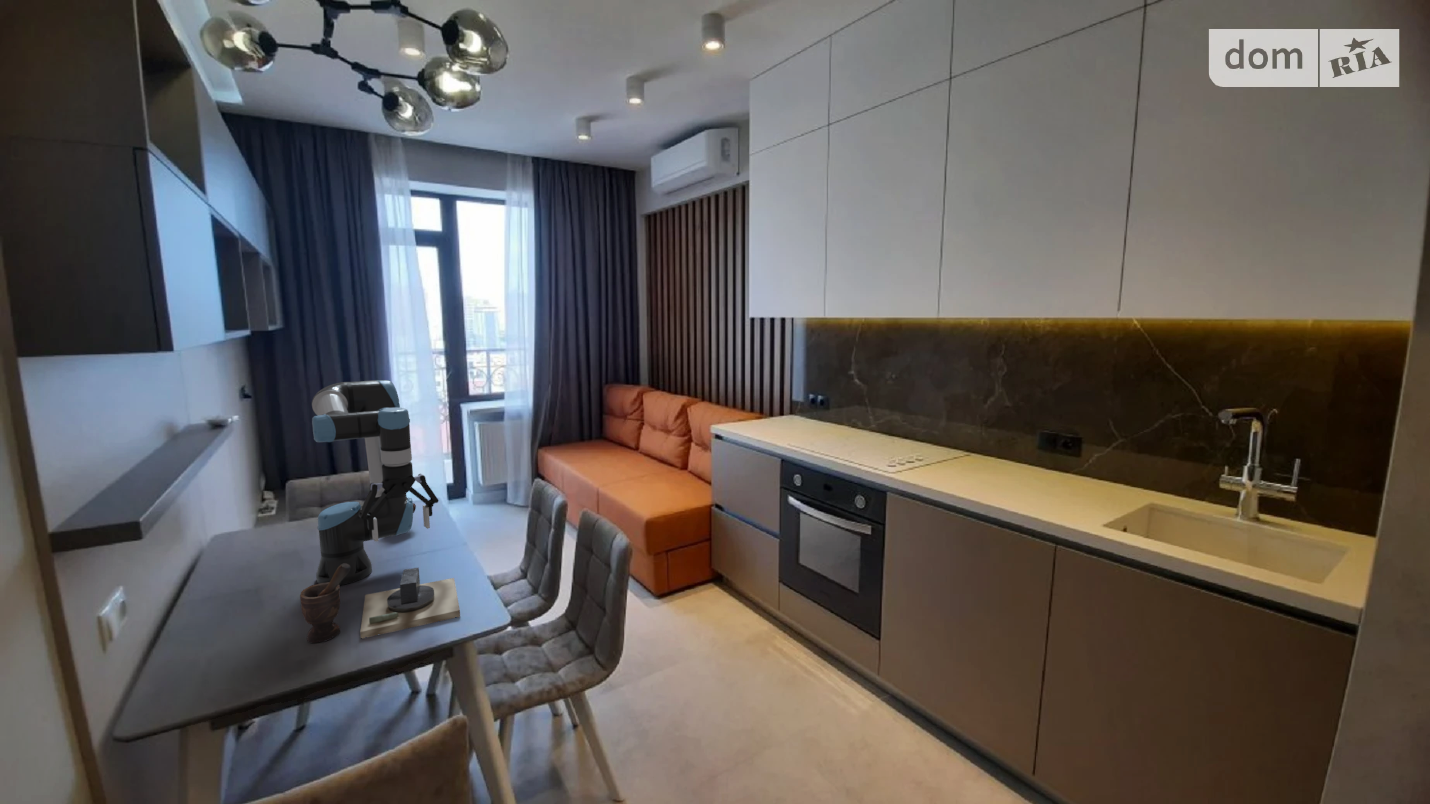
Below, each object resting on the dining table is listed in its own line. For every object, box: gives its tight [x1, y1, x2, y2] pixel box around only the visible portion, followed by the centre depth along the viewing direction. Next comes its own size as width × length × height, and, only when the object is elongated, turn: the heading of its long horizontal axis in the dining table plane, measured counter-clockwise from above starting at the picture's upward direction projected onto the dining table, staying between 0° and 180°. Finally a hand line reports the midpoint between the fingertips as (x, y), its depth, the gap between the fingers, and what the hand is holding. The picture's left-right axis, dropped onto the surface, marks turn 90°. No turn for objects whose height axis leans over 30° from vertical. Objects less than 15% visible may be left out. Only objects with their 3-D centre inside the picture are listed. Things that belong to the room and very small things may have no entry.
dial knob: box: [387, 567, 434, 613], centre depth 163 cm, size 14×12×8 cm
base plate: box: [359, 577, 461, 639], centre depth 163 cm, size 24×22×4 cm
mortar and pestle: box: [299, 563, 351, 644], centre depth 148 cm, size 12×9×20 cm
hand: (402, 533), depth 162 cm, fingers open, 13 cm apart
